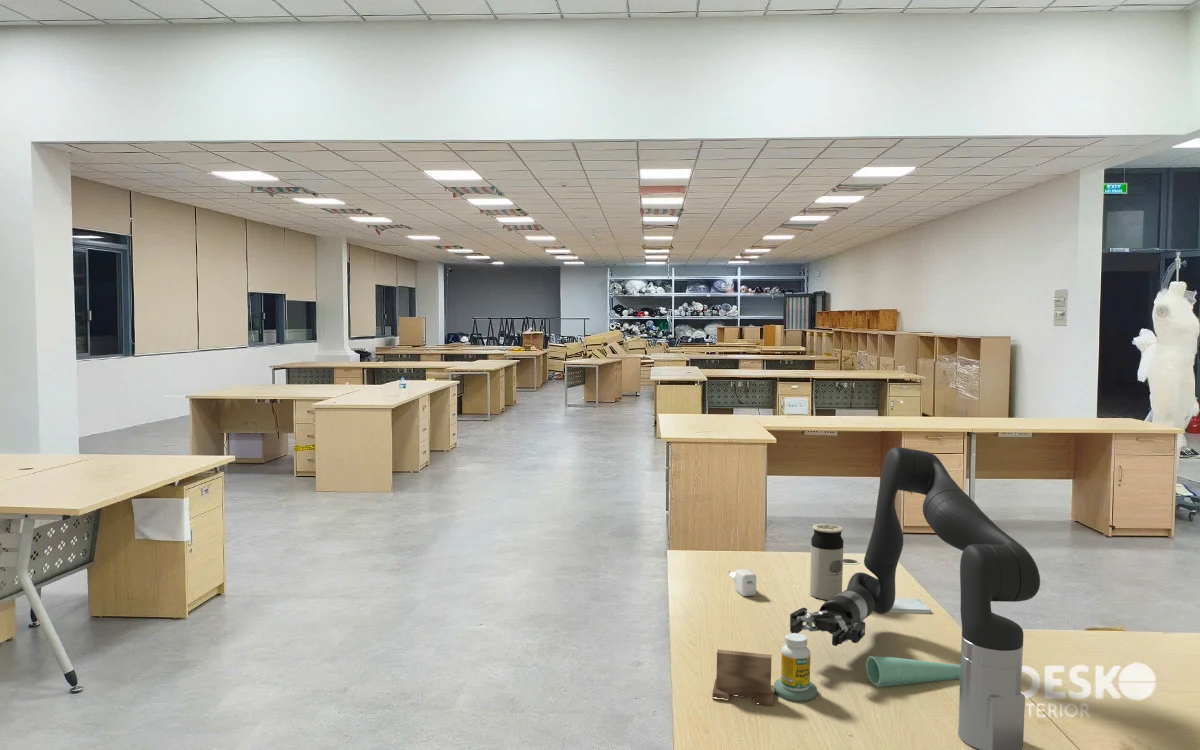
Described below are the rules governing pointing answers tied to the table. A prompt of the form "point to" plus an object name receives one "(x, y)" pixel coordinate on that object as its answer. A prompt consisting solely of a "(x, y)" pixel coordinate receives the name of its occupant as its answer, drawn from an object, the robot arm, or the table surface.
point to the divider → (744, 676)
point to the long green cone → (908, 671)
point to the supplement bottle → (795, 663)
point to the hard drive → (909, 606)
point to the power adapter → (744, 581)
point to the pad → (793, 695)
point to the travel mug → (826, 561)
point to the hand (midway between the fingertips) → (813, 635)
